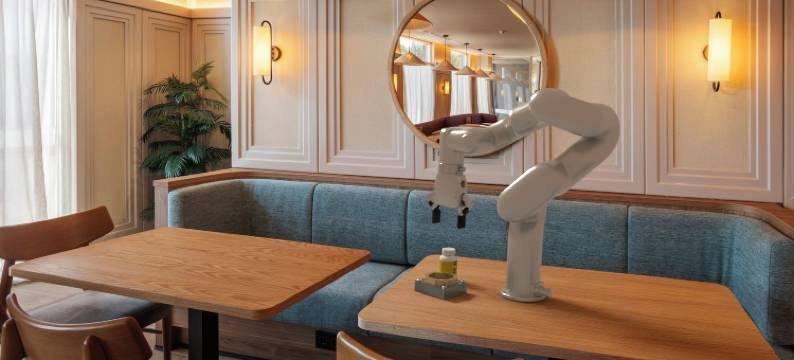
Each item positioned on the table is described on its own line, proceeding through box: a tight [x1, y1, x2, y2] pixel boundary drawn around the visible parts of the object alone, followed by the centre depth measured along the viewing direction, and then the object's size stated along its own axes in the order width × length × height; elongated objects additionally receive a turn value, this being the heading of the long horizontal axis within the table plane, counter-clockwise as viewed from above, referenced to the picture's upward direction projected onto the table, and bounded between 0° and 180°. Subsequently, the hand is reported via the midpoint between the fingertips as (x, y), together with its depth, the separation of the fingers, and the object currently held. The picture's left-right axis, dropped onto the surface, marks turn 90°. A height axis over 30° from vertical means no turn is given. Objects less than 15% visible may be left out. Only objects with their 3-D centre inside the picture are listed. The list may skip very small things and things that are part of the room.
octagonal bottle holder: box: [414, 271, 468, 301], centre depth 169 cm, size 11×10×5 cm
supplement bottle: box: [438, 247, 458, 275], centre depth 181 cm, size 5×5×10 cm
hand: (448, 225), depth 180 cm, fingers open, 9 cm apart
